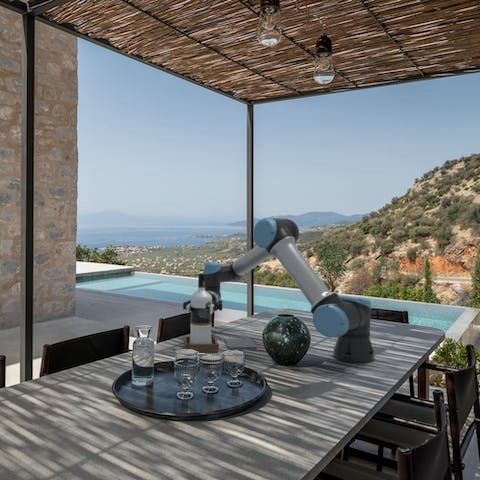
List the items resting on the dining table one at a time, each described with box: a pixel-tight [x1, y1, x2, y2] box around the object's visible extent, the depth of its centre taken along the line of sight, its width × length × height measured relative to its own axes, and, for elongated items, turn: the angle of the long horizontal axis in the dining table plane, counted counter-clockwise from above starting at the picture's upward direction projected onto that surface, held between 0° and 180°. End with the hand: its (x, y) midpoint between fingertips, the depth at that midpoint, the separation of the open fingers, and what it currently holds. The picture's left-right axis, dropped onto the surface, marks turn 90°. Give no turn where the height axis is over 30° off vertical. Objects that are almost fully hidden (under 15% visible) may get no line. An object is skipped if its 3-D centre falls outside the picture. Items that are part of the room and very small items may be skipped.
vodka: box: [189, 272, 213, 344], centre depth 181 cm, size 9×9×30 cm
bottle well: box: [182, 335, 220, 353], centre depth 181 cm, size 13×13×4 cm
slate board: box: [224, 337, 258, 351], centre depth 191 cm, size 14×11×1 cm
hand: (199, 310), depth 176 cm, fingers closed on vodka, 8 cm apart
